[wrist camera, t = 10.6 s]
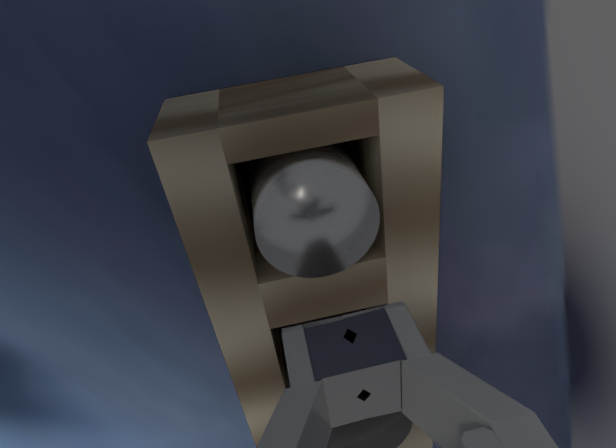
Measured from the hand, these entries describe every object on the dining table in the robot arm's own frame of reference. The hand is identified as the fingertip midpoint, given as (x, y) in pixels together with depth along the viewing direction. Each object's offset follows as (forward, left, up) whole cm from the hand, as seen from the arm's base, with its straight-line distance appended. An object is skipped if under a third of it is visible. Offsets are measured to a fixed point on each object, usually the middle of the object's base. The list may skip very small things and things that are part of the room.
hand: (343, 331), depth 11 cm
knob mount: (+9, 0, -12) cm, 15 cm away
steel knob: (+1, 0, -11) cm, 11 cm away
